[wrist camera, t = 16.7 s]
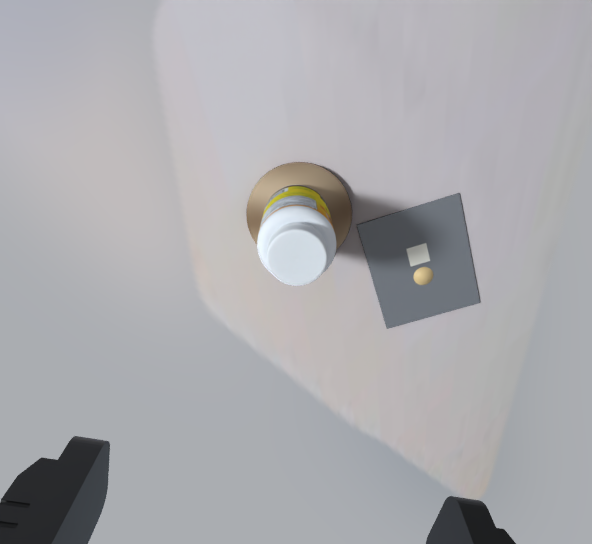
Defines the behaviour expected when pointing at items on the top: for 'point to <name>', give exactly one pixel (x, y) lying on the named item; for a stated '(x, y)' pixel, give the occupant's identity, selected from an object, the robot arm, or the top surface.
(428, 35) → the top surface
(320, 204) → the supplement bottle
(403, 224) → the gray board
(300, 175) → the cork coaster
